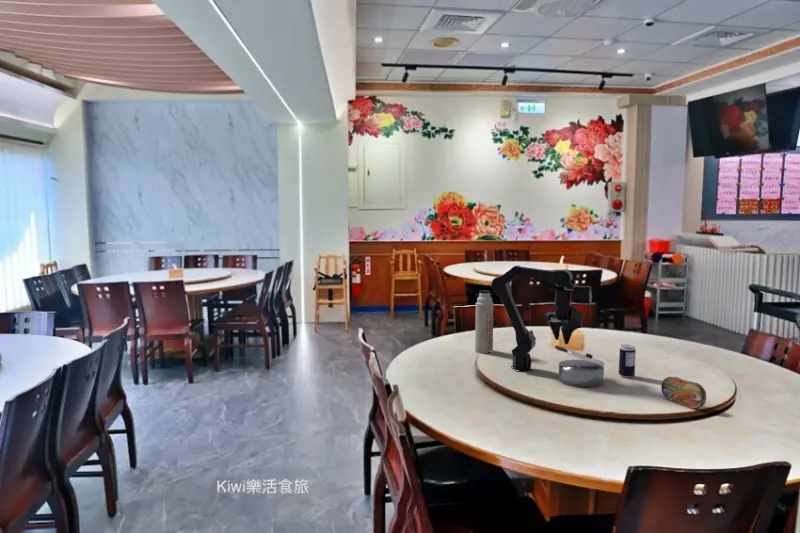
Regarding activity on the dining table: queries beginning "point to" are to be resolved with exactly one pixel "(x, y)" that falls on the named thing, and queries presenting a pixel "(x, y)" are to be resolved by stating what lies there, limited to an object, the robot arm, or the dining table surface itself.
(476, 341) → the thermos bottle
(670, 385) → the tin
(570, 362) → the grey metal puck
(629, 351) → the beverage can
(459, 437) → the dining table surface
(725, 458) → the dining table surface
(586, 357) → the cooker lid
